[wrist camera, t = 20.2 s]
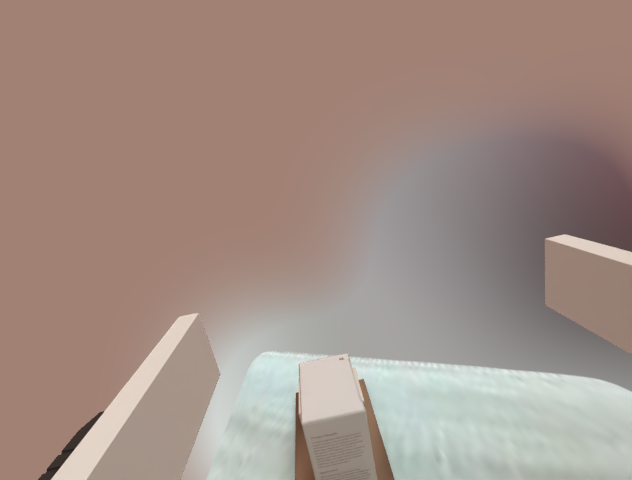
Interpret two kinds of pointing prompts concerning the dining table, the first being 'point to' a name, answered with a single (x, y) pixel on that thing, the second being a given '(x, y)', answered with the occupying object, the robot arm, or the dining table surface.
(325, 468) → the small box
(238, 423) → the dining table surface
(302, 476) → the board
